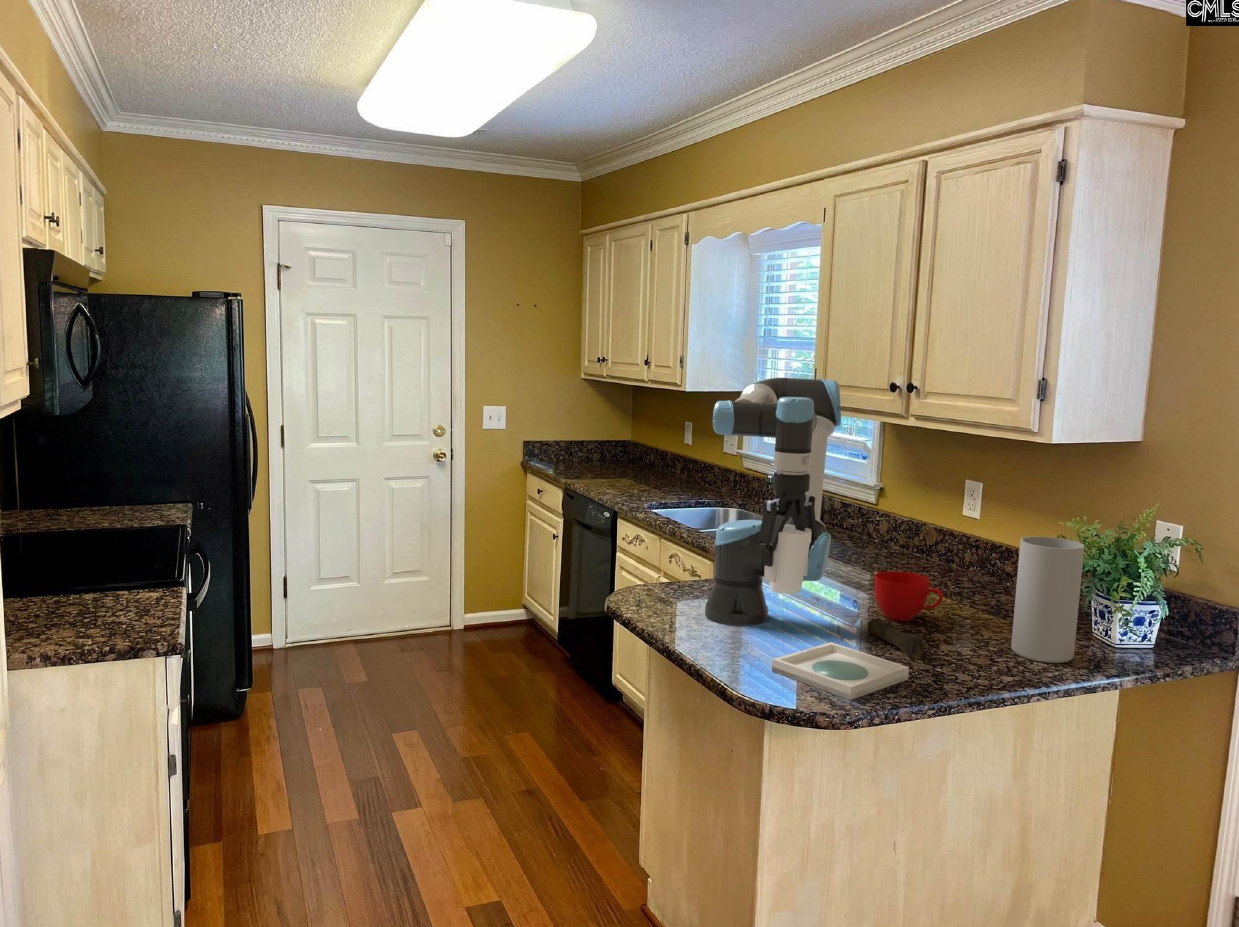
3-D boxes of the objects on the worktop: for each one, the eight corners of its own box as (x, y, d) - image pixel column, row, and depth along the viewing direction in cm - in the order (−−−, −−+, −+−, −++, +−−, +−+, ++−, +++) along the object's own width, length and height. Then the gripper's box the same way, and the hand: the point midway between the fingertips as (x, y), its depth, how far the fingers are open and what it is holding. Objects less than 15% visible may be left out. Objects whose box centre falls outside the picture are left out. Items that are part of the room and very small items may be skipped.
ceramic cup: (928, 632, 218) (931, 590, 217) (862, 616, 230) (865, 576, 228) (951, 621, 228) (954, 581, 227) (887, 606, 239) (889, 568, 238)
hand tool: (866, 635, 216) (867, 615, 215) (881, 634, 216) (883, 614, 216) (909, 662, 197) (911, 641, 197) (926, 661, 198) (928, 640, 198)
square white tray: (771, 671, 188) (772, 659, 188) (830, 653, 200) (830, 642, 200) (850, 700, 174) (851, 687, 174) (908, 679, 186) (908, 667, 186)
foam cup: (815, 594, 194) (819, 533, 192) (775, 596, 191) (778, 534, 189) (794, 582, 203) (798, 523, 201) (755, 584, 200) (758, 525, 198)
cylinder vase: (1012, 659, 201) (1022, 544, 198) (1009, 642, 212) (1019, 534, 209) (1076, 667, 197) (1087, 551, 193) (1070, 650, 208) (1080, 540, 205)
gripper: (770, 478, 184) (764, 589, 187) (839, 470, 198) (832, 574, 201) (742, 473, 189) (736, 581, 192) (810, 466, 204) (804, 567, 206)
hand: (785, 577), depth 197 cm, fingers closed on foam cup, 9 cm apart
